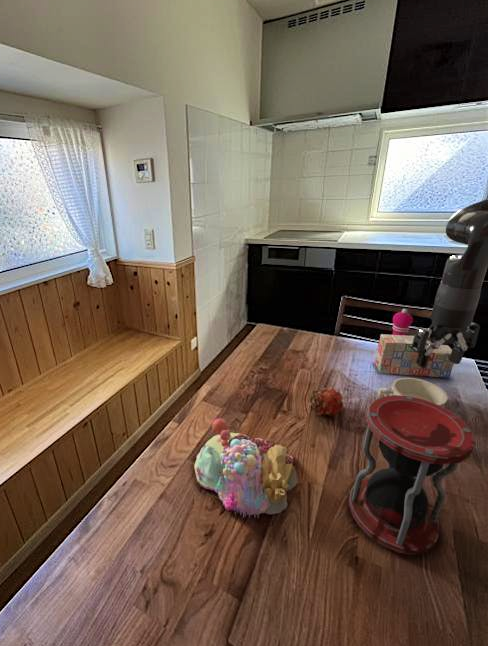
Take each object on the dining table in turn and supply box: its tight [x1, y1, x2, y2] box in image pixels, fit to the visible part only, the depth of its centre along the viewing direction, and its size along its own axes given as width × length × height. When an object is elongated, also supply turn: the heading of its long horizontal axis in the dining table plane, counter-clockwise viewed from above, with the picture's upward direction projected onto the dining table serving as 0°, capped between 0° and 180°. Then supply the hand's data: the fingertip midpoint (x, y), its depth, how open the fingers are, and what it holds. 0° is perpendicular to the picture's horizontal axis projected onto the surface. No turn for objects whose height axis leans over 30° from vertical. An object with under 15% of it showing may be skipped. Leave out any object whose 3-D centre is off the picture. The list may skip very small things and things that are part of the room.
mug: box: [376, 376, 449, 409], centre depth 100 cm, size 17×14×6 cm
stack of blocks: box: [374, 333, 454, 379], centre depth 115 cm, size 21×6×12 cm, turn 76°
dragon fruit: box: [309, 387, 344, 418], centre depth 99 cm, size 8×8×12 cm
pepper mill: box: [391, 308, 414, 335], centre depth 121 cm, size 7×7×20 cm
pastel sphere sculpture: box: [193, 418, 299, 519], centre depth 80 cm, size 25×24×9 cm
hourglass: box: [348, 395, 476, 556], centre depth 65 cm, size 16×16×25 cm
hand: (437, 364), depth 82 cm, fingers open, 8 cm apart
